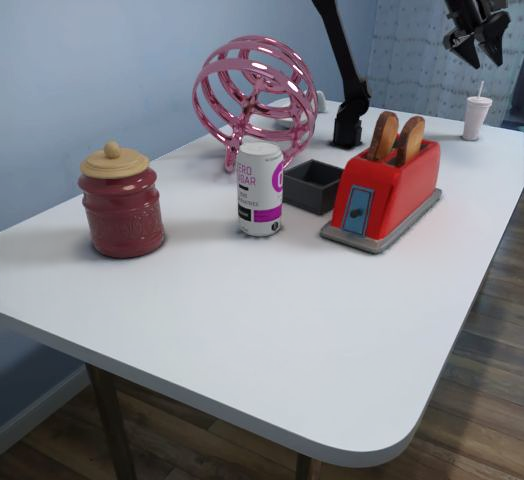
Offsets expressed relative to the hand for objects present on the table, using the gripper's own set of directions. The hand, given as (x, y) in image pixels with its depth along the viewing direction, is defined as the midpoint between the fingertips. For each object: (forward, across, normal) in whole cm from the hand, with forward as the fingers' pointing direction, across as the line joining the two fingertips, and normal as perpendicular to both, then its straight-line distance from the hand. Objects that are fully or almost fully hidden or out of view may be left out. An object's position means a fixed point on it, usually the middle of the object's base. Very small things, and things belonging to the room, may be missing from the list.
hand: (489, 67), depth 113 cm
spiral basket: (-14, +4, +55) cm, 57 cm away
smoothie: (+17, +15, +4) cm, 23 cm away
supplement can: (-10, -27, +63) cm, 69 cm away
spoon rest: (-11, +36, +36) cm, 52 cm away
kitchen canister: (-24, -29, +83) cm, 91 cm away
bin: (-5, -16, +50) cm, 53 cm away
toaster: (+4, -25, +42) cm, 48 cm away
